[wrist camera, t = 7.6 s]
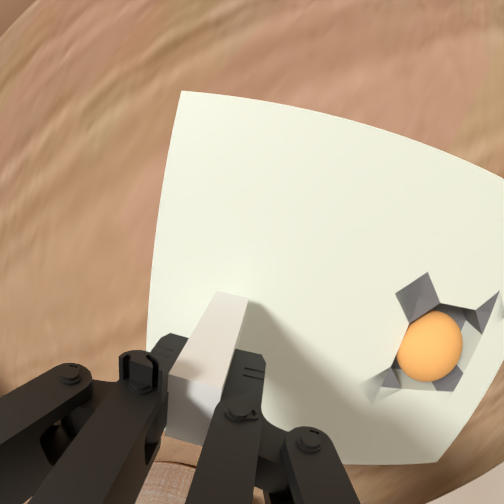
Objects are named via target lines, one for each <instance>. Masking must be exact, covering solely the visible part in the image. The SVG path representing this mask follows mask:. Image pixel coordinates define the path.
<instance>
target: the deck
mask: <svg viewBox="0 0 504 504" xmlns="http://www.w3.org/2000/svg"><path fill="white" fill-rule="evenodd" d="M216 291H219V292H224V293H228V294H232V295H237V296H241V297H246V298H249V300H248V304H247V309H246V314H245V318H244V323H243V328H242V332H241V337H240V341H239V346H238V349H239V350H244V351H248V352H253V353H258V354H262V356H263V358H264V360H265V362H266V369H265V378H264V387H263V396H262V404H261V411H262V413H263V416H264V417H265V418H266V420H267V421H269V422H270V423H271V424H272V425H274V426H276V427H278V428H280V429H283V430H285V431H288V432H289V431H290V430H292V429H294V428H296V427H301V426H308V427H314V428H316V429H319V430H321V431H323V432H324V433H326V434H327V435H328V436H329V438H330V439H331V440H332V442H333V444H334V446H335V449H336V451H337V453H338V455H339V457H340V460H341V462H342V464H354V465H402V464H421V463H433V462H437V461H438V460H439V459H440V458H441V456H442V455H443V454H444V453H445V451H446V450H447V449H448V447H449V446H450V445H451V443H452V442H453V441H454V439H455V438H456V437H457V435H458V434H459V433H460V431H461V430H462V428H463V427H464V425H465V424H466V423H467V421H468V420H469V418H470V417H471V415H472V414H473V412H474V410H475V409H476V407H477V406H478V404H479V403H480V401H481V399H482V398H483V396H484V394H485V393H486V391H487V389H488V388H489V386H490V384H491V382H492V381H493V379H494V377H495V375H496V373H497V371H498V369H499V368H500V366H501V364H502V362H503V360H504V179H503V178H501V177H499V176H497V175H495V174H493V173H491V172H489V171H487V170H485V169H483V168H481V167H478V166H476V165H474V164H472V163H470V162H467V161H465V160H463V159H460V158H458V157H456V156H453V155H451V154H449V153H446V152H444V151H441V150H439V149H436V148H434V147H431V146H428V145H426V144H423V143H420V142H418V141H415V140H412V139H409V138H406V137H403V136H401V135H398V134H395V133H392V132H388V131H385V130H382V129H379V128H376V127H372V126H369V125H366V124H362V123H359V122H355V121H352V120H348V119H344V118H340V117H337V116H333V115H329V114H325V113H320V112H316V111H312V110H307V109H303V108H298V107H293V106H288V105H283V104H278V103H272V102H267V101H261V100H255V99H248V98H241V97H234V96H227V95H219V94H210V93H200V92H189V91H181V95H180V100H179V104H178V108H177V113H176V118H175V122H174V127H173V132H172V137H171V142H170V147H169V152H168V158H167V163H166V169H165V174H164V180H163V187H162V193H161V199H160V206H159V213H158V220H157V228H156V236H155V244H154V253H153V262H152V272H151V283H150V295H149V308H148V324H147V344H146V351H147V352H151V350H152V349H153V347H154V346H155V345H156V343H157V342H158V341H159V339H160V338H161V337H163V336H165V335H167V334H169V333H173V334H176V335H180V336H183V337H187V338H189V337H190V336H191V334H192V332H193V330H194V329H195V327H196V325H197V324H198V322H199V320H200V318H201V317H202V315H203V313H204V312H205V310H206V308H207V306H208V305H209V303H210V301H211V300H212V298H213V296H214V294H215V293H216ZM428 311H439V312H443V313H445V314H447V315H449V316H450V317H451V318H452V319H453V320H454V321H455V322H456V323H457V325H458V326H459V328H460V331H461V334H462V339H463V347H462V352H461V356H460V358H459V361H458V363H457V364H456V366H455V367H454V368H453V370H452V371H451V372H450V373H448V374H447V375H446V376H444V377H443V378H441V379H438V380H435V381H431V382H421V381H417V380H414V379H412V378H410V377H409V376H408V375H406V374H405V373H404V372H403V370H402V369H401V367H400V366H399V364H398V361H397V358H396V354H397V352H398V349H399V347H400V345H401V342H402V340H403V338H404V335H405V333H406V330H407V328H408V325H409V323H411V322H413V321H414V320H416V319H417V318H419V317H420V316H422V315H423V314H425V313H426V312H428ZM164 431H165V429H164Z"/></svg>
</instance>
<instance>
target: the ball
mask: <svg viewBox="0 0 504 504" xmlns="http://www.w3.org/2000/svg"><path fill="white" fill-rule="evenodd" d="M462 347H463V339H462V334H461V331H460V328H459V326H458V325H457V323H456V322H455V321H454V320H453V319H452V318H451V317H450V316H449V315H447V314H445V313H443V312H439V311H428V312H426V313H425V314H423V315H422V316H420V317H419V318H417V319H416V320H414V321H413V322H411V323H409V325H408V328H407V330H406V333H405V335H404V338H403V340H402V342H401V345H400V347H399V349H398V352H397V354H396V358H397V361H398V364H399V366H400V367H401V369H402V370H403V372H404V373H405V374H406V375H408V376H409V377H410V378H412V379H414V380H417V381H421V382H431V381H435V380H438V379H441V378H443V377H444V376H446V375H447V374H448V373H450V372H451V371H452V370H453V368H454V367H455V366H456V364H457V363H458V361H459V358H460V356H461V352H462Z"/></svg>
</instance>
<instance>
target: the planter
mask: <svg viewBox="0 0 504 504" xmlns="http://www.w3.org/2000/svg"><path fill="white" fill-rule="evenodd" d="M195 470H196V468H195V467H192V466H188V465H184V464H179V463H172V462H153V464H152V466H151V469H150V471H149V473H148V475H147V477H146V480H145V482H144V484H143V486H142V489H141V491H140V493H139V495H138V498H137V500H136V502H135V504H185V501H186V498H187V495H188V492H189V489H190V485H191V482H192V479H193V476H194V473H195Z"/></svg>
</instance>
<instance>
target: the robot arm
mask: <svg viewBox="0 0 504 504" xmlns="http://www.w3.org/2000/svg"><path fill="white" fill-rule="evenodd" d="M248 300H249V298H246V297H241V296H237V295H232V294H228V293H224V292H219V291H216V293H215V294H214V296H213V298H212V300H211V301H210V303H209V305H208V306H207V308H206V310H205V312H204V313H203V315H202V317H201V318H200V320H199V322H198V324H197V325H196V327H195V329H194V330H193V332H192V334H191V336H190V337H189V338H187V337H183V336H180V335H176V334H173V333H169V334H167V335H165V336H163V337H161V338H160V339H159V341H158V342H157V343H156V345H155V346H154V347H153V349H152V350H151V352H147V351H142V350H131V351H128V352H124V353H123V354H121V355H120V356H119V378H120V379H119V380H118V381H117V382H106V381H100V380H93V379H92V376H91V373H90V371H89V370H88V369H87V368H86V367H84V366H82V365H80V364H75V363H63V364H61V365H58V366H56V367H54V368H52V369H50V370H49V371H47V372H45V373H43V374H42V375H40V376H38V377H36V378H34V379H33V380H31V381H29V382H27V383H26V384H24V385H22V386H20V387H18V388H17V389H15V390H13V391H11V392H9V393H8V394H6V395H4V396H2V397H0V504H23V503H24V502H25V501H27V500H28V499H29V498H31V497H32V496H33V497H32V498H31V499H30V501H29V502H28V504H135V502H136V500H137V498H138V495H139V493H140V491H141V489H142V486H143V484H144V482H145V480H146V477H147V475H148V473H149V471H150V469H151V466H152V464H153V462H154V460H155V457H156V455H157V453H158V451H159V448H160V444H161V435H162V433H163V431H164V429H165V435H166V436H169V437H172V438H175V439H179V440H182V441H186V442H189V443H193V444H197V445H200V446H203V448H202V451H201V454H200V457H199V460H198V463H197V467H196V470H195V473H194V476H193V479H192V482H191V485H190V489H189V492H188V495H187V498H186V501H185V504H252V497H253V490H254V486H255V487H257V488H260V489H262V490H263V494H264V499H265V503H266V504H360V502H359V499H358V497H357V495H356V493H355V491H354V488H353V486H352V484H351V482H350V480H349V477H348V475H347V473H346V471H345V469H344V466H343V464H342V462H341V460H340V457H339V455H338V453H337V451H336V449H335V446H334V444H333V442H332V440H331V439H330V438H329V436H328V435H327V434H326V433H324V432H323V431H321V430H319V429H316V428H314V427H308V426H301V427H296V428H294V429H292V430H290V431H289V432H288V431H285V430H283V429H280V428H278V427H276V426H274V425H272V424H271V423H270V422H269V421H267V420H266V418H265V417H264V416H263V413H262V411H261V404H262V396H263V387H264V378H265V369H266V362H265V360H264V358H263V356H262V354H258V353H253V352H248V351H244V350H239V349H238V346H239V341H240V337H241V332H242V328H243V323H244V318H245V314H246V309H247V304H248Z"/></svg>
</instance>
